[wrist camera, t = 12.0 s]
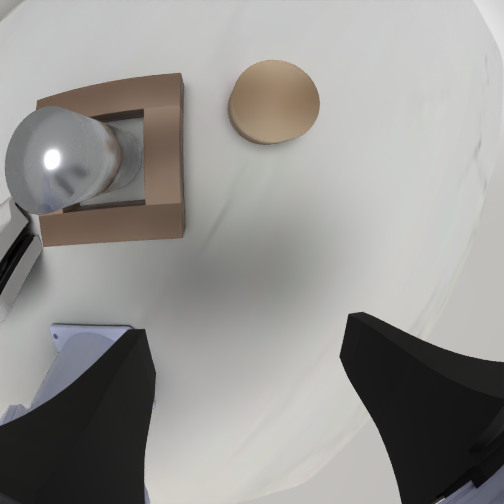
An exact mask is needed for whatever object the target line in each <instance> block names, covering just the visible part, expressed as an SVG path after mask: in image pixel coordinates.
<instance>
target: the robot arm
mask: <svg viewBox="0 0 504 504" xmlns="http://www.w3.org/2000/svg"><path fill="white" fill-rule="evenodd" d="M49 330H50V333H51V336H52V339H53V341H54V344H55V346H56V349H57V351H58V356H57V357H56V359H55V361H54V362H53V364H52V366H51V368H50V370H49V371H48V373H47V375H46V377H45V379H44V380H43V382H42V384H41V386H40V388H39V390H38V392H37V394H36V396H35V398H34V399H33V401H32V403H31V406H30V408H29V409H28V410H27V409H26V408H25V407H24V406H23V405H21V404H18V405H17V406H16V405H10V406H9V407H8V408H7V410H6V411H5V413H4V415H3V417H2V418H1V420H0V504H150V499H149V496H148V492H147V489H146V486H145V484H144V458H145V448H146V442H147V436H148V430H149V424H150V419H151V413H152V409H154V408H155V402H154V396H155V380H156V372H155V368H154V364H153V360H152V357H151V353H150V349H149V344H148V340H147V336H146V332H145V329H132V328H131V327H128V326H79V325H57V324H53V325H51V326H50V328H49ZM55 334H56V335H57V336H56V335H55ZM339 357H340V359H341V362H342V364H343V367H344V369H345V372H346V374H347V376H348V378H349V380H350V382H351V384H352V385H353V387H354V389H355V390H356V392H357V394H358V395H359V397H360V399H361V400H362V402H363V404H364V405H365V407H366V409H367V410H368V412H369V414H370V415H371V417H372V419H373V421H374V422H375V424H376V426H377V428H378V430H379V433H380V435H381V437H382V440H383V442H384V444H385V447H386V450H387V452H388V455H389V458H390V461H391V464H392V467H393V470H394V474H395V477H396V480H397V484H398V488H399V493H400V498H401V502H402V504H436V503H437V502H439V501H440V500H442V499H443V498H445V499H444V500H443V501H441V502H440V503H438V504H504V362H496V361H489V360H483V359H478V358H474V357H469V356H465V355H461V354H458V353H454V352H452V351H448V350H446V349H443V348H440V347H437V346H435V345H432V344H430V343H428V342H426V341H423V340H421V339H419V338H417V337H414V336H412V335H410V334H408V333H406V332H404V331H402V330H400V329H398V328H396V327H394V326H392V325H390V324H388V323H386V322H384V321H382V320H380V319H378V318H376V317H374V316H372V315H369V314H367V313H364V312H358V313H351V314H348V319H347V324H346V329H345V334H344V339H343V343H342V348H341V352H340V356H339Z"/></svg>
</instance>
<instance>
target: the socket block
mask: <svg viewBox="0 0 504 504" xmlns="http://www.w3.org/2000/svg"><path fill="white" fill-rule="evenodd" d="M183 96H184V84H183V80H182V75H181V73H173V74H161V75H152V76H143V77H136V78H129V79H122V80H117V81H111V82H106V83H101V84H96V85H91V86H87V87H82V88H78V89H74V90H70V91H67V92H63V93H60V94H56V95H53V96H49V97H46V98H43V99H40V100H37V107H36V110H38V109H40V108H43V107H48V106H56V107H61V108H64V109H67V110H69V111H72V112H75V113H78V114H81V115H84V116H86V117H89V118H92V119H94V120H97V121H100V122H102V123H103V122H109V121H115V120H122V119H129V118H137V117H144V182H145V200H138V201H126V202H115V203H105V204H95V205H86V206H80V205H79V202H78V203H75V204H73V205H70V206H67V207H65V208H62V209H60V210H57V211H55V212H52V213H49V214H44V215H39V221H40V228H41V235H42V241H43V246H44V247H49V246H62V245H76V244H90V243H105V242H121V241H138V240H155V239H173V238H183V235H184V231H185V210H184V184H183Z"/></svg>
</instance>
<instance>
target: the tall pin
mask: <svg viewBox="0 0 504 504" xmlns="http://www.w3.org/2000/svg"><path fill="white" fill-rule="evenodd" d="M140 165H141V149H140V146H139V144H138V142H137V140H136V139H135V138H134V137H133V136H132V135H131V134H129V133H128V132H126V131H123V130H121V129H118V128H116V127H113V126H110V125H108V124H105V123H102V122H100V121H97V120H94V119H92V118H89V117H86V116H84V115H81V114H78V113H75V112H72V111H69V110H67V109H64V108H61V107H56V106H48V107H43V108H40V109H38V110H36V111H34V112H32V113H31V114H29V115H28V116H27V117H26V118H25V119H24V120H23V121H22V122H21V123H20V124H19V126H18V127H17V129H16V130H15V132H14V134H13V135H12V138H11V140H10V142H9V145H8V149H7V153H6V159H5V176H6V182H7V186H8V189H9V191H10V193H11V195H12V197H13V199H14V200H15V202H16V203H17V204H18V205H19V206H20V207H21V208H22V209H24V210H25V211H27V212H29V213H32V214H37V215H44V214H49V213H52V212H55V211H57V210H60V209H62V208H65V207H67V206H70V205H73V204H75V203H78V202H81V201H84V200H86V199H89V198H92V197H95V196H98V195H101V194H104V193H107V192H110V191H113V190H116V189H119V188H122V187H124V186H126V185H127V184H128V183H130V182H131V181H132V180H133V179H134V177H135V176H136V174H137V173H138V171H139V168H140Z"/></svg>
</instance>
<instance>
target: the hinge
mask: <svg viewBox="0 0 504 504" xmlns="http://www.w3.org/2000/svg"><path fill="white" fill-rule="evenodd" d="M15 203H16V202H15V200H14V199H13V197H12V196H11V197H9V198H8V199H7V200H5V201H4V202H3V203H2V204H0V323H1V322H2V321H3V320H4V319H5V318H6V317H7V315H8V314H9V312H10V310H11V308H12V306H13V304H14V302H15V299H16V297H17V295H18V293H19V291H20V289H21V287H22V285H23V283H24V281H25V280H26V278H27V276H28V274H29V272H30V270H31V268H32V267H33V265H34V263H35V261H36V260H37V258H38V256H39V255H40V253H41V251H42V250H43V249H42V245H41V242H40V240H39V237H38V235H37V236H35V237H32V235H29V236H27V237H26V238H24V239H23V240H21V238H22V237H23V235H24V234H25V233H26V231H27V230H28V229H27V228H26V224H27V223H28V222H29V221H28V220H27V219H26V218H25V216H24V215H23V214H22V213H21V212H20V210H19V209H18V208H17V207H16V205H15ZM20 240H21V241H20Z"/></svg>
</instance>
